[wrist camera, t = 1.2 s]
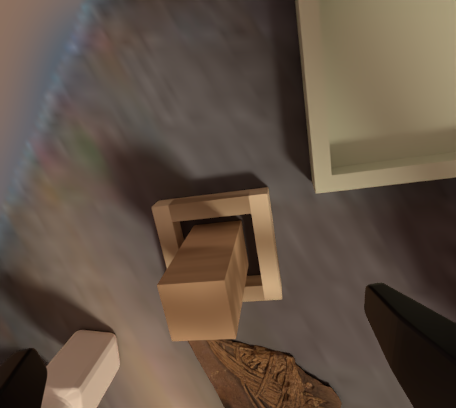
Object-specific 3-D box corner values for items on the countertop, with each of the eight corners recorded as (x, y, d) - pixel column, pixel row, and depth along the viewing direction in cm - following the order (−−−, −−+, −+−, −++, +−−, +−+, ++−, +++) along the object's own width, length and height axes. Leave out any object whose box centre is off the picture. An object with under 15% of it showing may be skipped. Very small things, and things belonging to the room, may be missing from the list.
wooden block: (248, 263, 25) (235, 338, 18) (203, 267, 26) (172, 341, 18) (241, 220, 24) (224, 280, 16) (194, 225, 25) (157, 285, 17)
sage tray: (514, 157, 20) (546, 166, 18) (311, 182, 22) (315, 193, 20) (538, -81, 16) (582, -109, 14) (292, -22, 19) (295, -38, 16)
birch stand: (281, 287, 25) (282, 299, 24) (181, 294, 27) (176, 305, 25) (268, 187, 23) (267, 193, 21) (158, 200, 24) (151, 207, 23)
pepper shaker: (123, 365, 30) (59, 480, 21) (83, 360, 31) (4, 470, 22) (118, 330, 29) (47, 437, 20) (76, 326, 30) (-11, 428, 21)
